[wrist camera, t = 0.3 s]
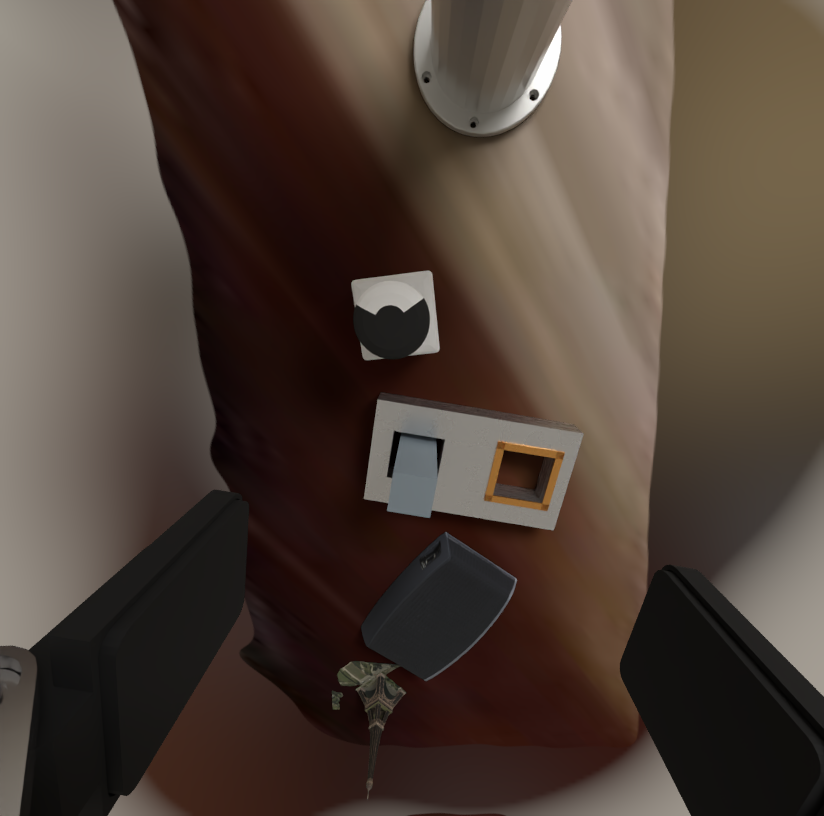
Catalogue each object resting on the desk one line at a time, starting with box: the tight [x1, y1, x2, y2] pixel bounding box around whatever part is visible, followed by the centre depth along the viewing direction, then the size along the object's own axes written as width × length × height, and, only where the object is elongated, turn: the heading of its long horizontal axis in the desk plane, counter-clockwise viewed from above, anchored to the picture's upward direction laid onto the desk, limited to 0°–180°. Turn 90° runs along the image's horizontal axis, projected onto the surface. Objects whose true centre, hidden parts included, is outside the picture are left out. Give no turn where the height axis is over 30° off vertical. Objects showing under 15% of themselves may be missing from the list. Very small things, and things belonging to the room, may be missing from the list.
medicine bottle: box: [351, 271, 440, 360], centre depth 36 cm, size 7×7×12 cm
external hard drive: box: [361, 532, 517, 681], centre depth 51 cm, size 13×19×4 cm
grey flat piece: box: [364, 392, 584, 530], centre depth 44 cm, size 12×22×3 cm, turn 81°
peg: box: [387, 432, 438, 518], centre depth 41 cm, size 4×4×11 cm
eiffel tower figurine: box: [332, 661, 406, 800], centre depth 52 cm, size 15×10×13 cm
